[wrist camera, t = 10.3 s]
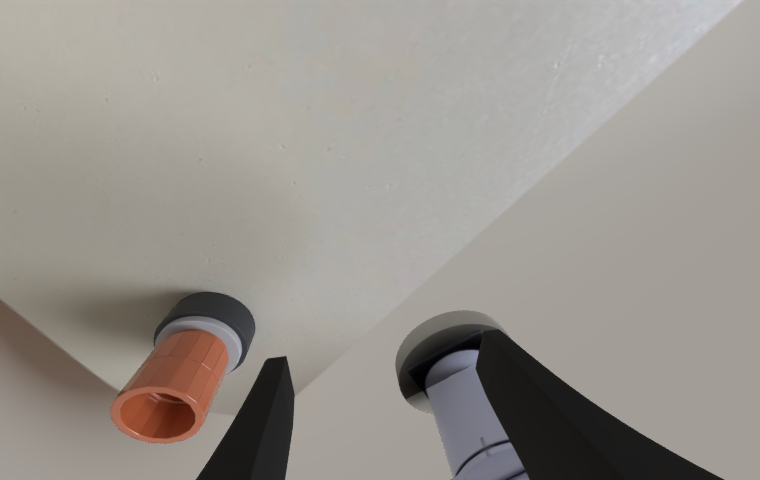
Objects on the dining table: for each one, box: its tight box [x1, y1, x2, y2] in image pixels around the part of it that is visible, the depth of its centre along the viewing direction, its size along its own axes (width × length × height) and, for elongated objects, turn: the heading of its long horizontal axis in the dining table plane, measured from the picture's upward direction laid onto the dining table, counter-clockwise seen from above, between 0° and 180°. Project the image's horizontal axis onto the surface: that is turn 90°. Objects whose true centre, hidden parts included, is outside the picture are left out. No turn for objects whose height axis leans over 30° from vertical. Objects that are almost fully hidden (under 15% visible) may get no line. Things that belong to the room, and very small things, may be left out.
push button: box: [154, 292, 255, 376], centre depth 19 cm, size 5×5×2 cm
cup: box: [110, 329, 229, 444], centre depth 16 cm, size 4×4×4 cm
